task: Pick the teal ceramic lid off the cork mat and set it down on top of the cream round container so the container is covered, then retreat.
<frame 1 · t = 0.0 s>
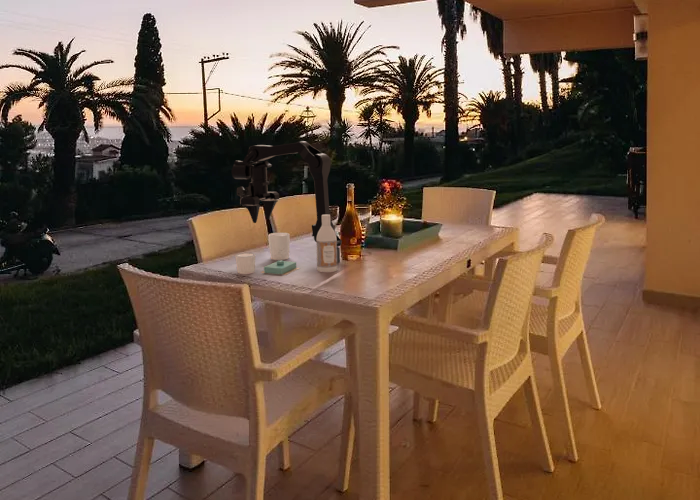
hand: (261, 221, 227), 15 cm above the table, tool pointing down, fingers open, 9 cm apart
lid: (280, 270, 207), point 1 cm above the table, touching mat
mat: (280, 272, 208), on the table
cream round container: (246, 275, 206), on the table
white cup: (280, 260, 227), on the table
bath foam: (327, 273, 207), on the table
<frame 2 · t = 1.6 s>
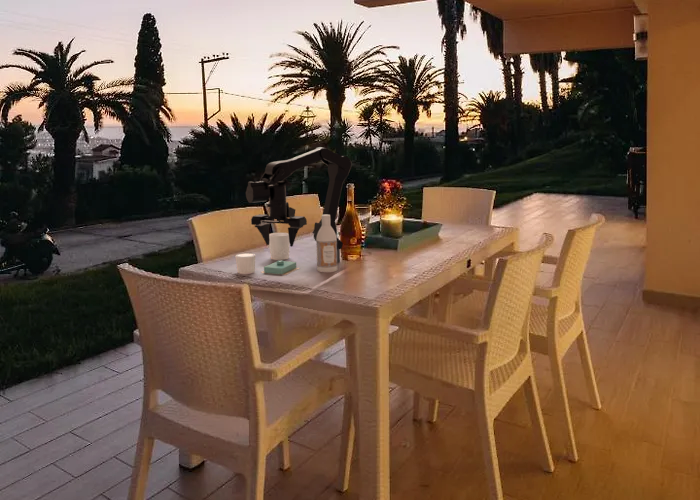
hand: (279, 245, 206), 10 cm above the table, tool pointing down, fingers open, 9 cm apart
nothing on the table moved.
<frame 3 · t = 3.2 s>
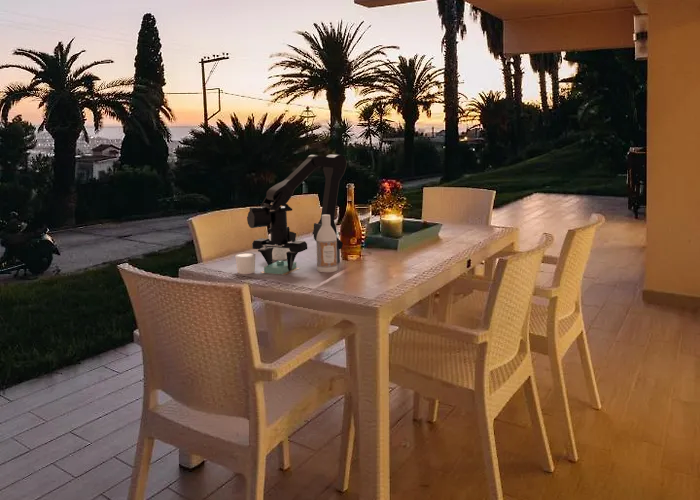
hand: (280, 269, 207), 1 cm above the table, tool pointing down, fingers closed on lid, 7 cm apart
lid: (280, 270, 207), point 1 cm above the table, touching gripper, mat
everything else where it was.
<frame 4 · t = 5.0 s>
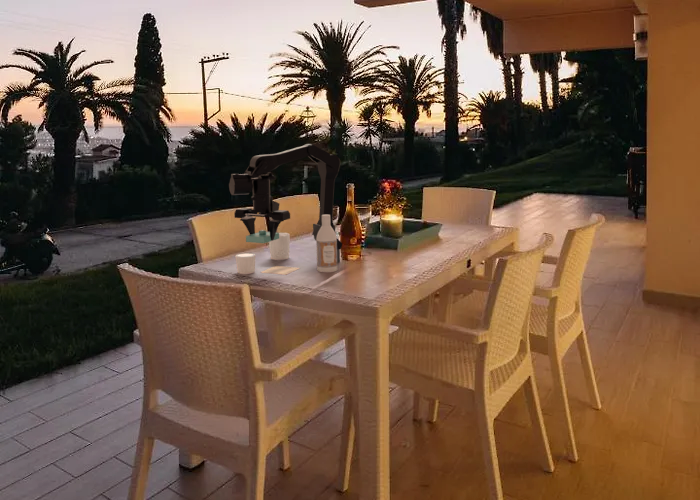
hand: (262, 239, 204), 12 cm above the table, tool pointing down, fingers closed on lid, 7 cm apart
lid: (262, 240, 204), point 12 cm above the table, touching gripper
everything else where it was.
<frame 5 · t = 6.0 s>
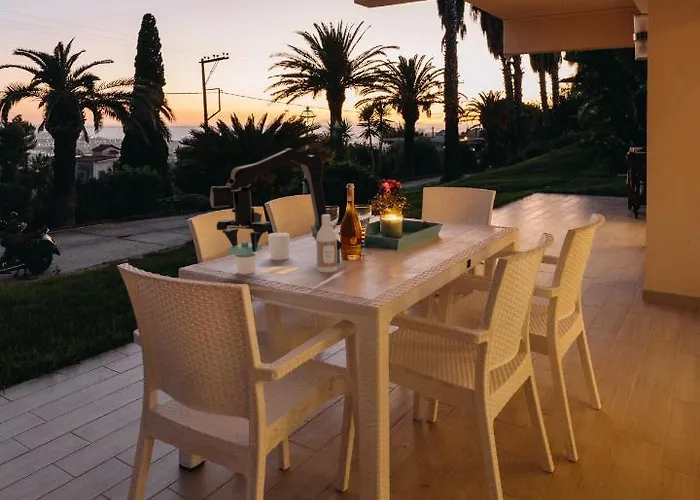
hand: (245, 250, 204), 8 cm above the table, tool pointing down, fingers closed on lid, 7 cm apart
lid: (245, 251, 204), point 8 cm above the table, touching gripper
everything else where it was.
when the fingers open (8 cm above the table, at t = 6.9 s): lid drops 1 cm, resting on cream round container.
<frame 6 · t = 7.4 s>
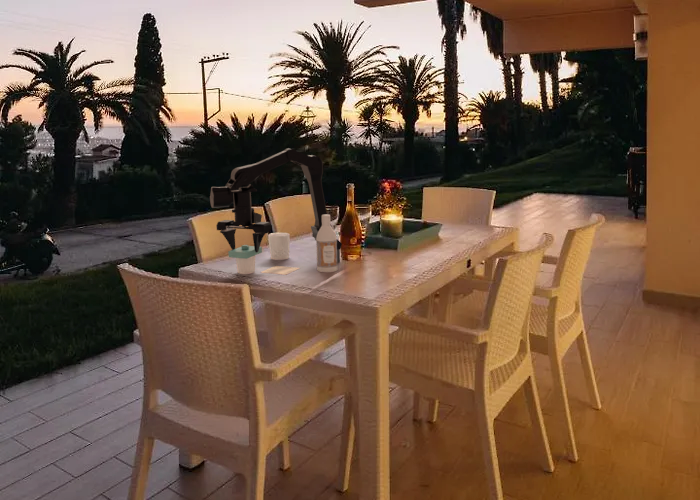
hand: (245, 251, 204), 8 cm above the table, tool pointing down, fingers open, 9 cm apart
lid: (245, 254, 205), point 7 cm above the table, touching cream round container
cream round container: (246, 275, 206), on the table, touching lid
everything else where it was.
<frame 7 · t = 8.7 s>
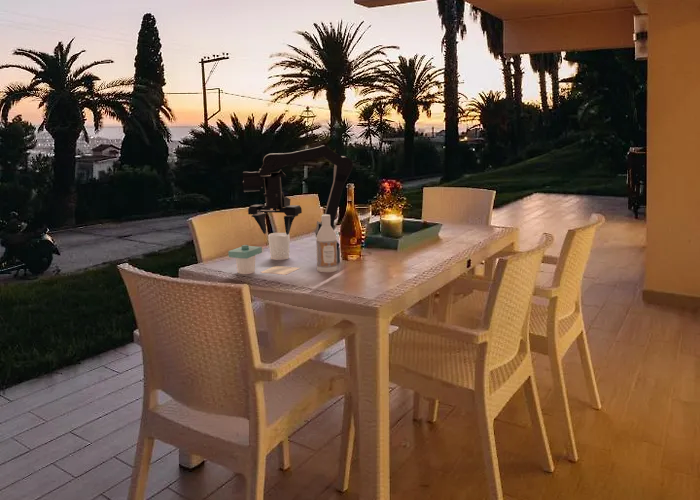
hand: (276, 234, 213), 12 cm above the table, tool pointing down, fingers open, 9 cm apart
nothing on the table moved.
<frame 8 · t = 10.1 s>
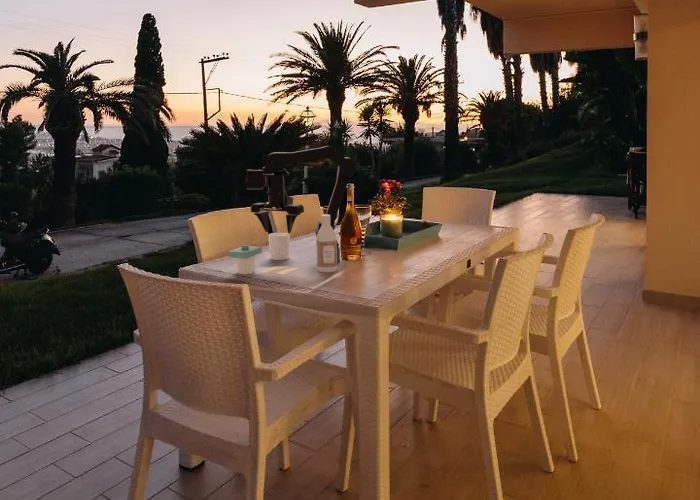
hand: (278, 232, 214), 13 cm above the table, tool pointing down, fingers open, 9 cm apart
nothing on the table moved.
at the end: lid 0.1 cm from the cream round container (horizontally); lid point 6.9 cm above the table; the gripper is holding nothing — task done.
